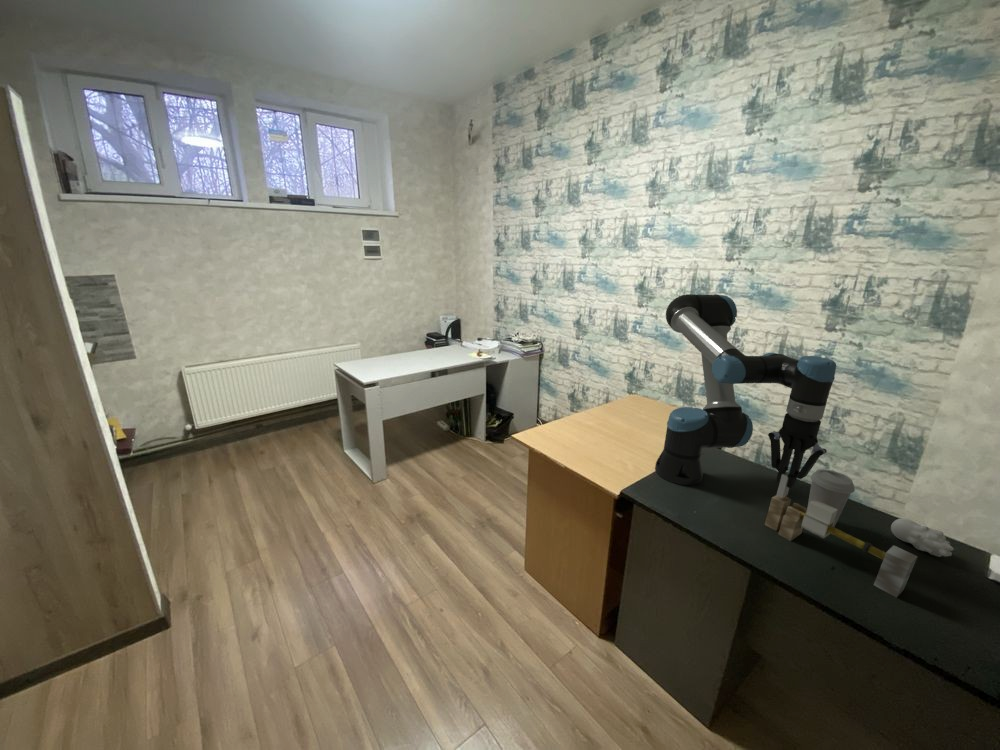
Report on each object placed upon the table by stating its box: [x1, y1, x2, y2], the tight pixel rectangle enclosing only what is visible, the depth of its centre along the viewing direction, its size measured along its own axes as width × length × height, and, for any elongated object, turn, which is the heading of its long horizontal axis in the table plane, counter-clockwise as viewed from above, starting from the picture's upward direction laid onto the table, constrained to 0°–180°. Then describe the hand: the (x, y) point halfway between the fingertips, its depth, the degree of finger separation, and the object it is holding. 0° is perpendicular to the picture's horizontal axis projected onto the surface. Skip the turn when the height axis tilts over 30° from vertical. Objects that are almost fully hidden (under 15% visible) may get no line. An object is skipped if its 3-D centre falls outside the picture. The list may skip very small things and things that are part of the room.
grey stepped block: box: [801, 499, 838, 539], centre depth 100 cm, size 5×4×7 cm
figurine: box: [890, 518, 955, 558], centre depth 102 cm, size 7×7×12 cm
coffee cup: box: [806, 468, 856, 528], centre depth 109 cm, size 10×10×15 cm
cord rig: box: [764, 494, 918, 599], centre depth 98 cm, size 28×6×10 cm, turn 30°
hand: (781, 495), depth 107 cm, fingers closed
